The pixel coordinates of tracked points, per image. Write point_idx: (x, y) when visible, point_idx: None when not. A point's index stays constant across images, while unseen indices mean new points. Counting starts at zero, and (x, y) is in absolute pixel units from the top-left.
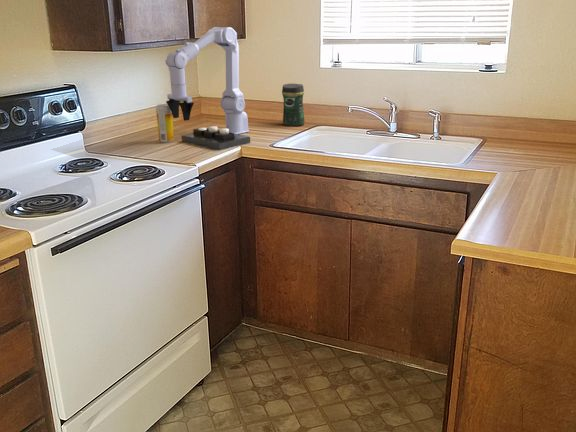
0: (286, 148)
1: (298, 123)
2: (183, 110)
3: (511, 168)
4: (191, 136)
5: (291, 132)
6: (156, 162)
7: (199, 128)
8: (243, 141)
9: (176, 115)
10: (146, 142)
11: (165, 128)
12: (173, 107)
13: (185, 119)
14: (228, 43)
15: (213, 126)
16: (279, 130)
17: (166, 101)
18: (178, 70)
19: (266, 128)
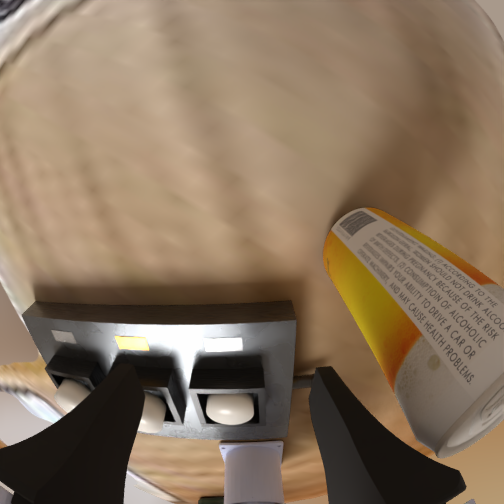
0: (17, 391)
1: (198, 502)
2: (52, 426)
3: None
4: (221, 338)
5: (155, 478)
6: (33, 23)
7: (239, 407)
8: None
9: (315, 404)
10: (424, 161)
11: (363, 258)
12: (346, 466)
13: (115, 373)
14: None
15: (153, 429)
16: (190, 482)
17: (454, 491)
18: None
19: None
